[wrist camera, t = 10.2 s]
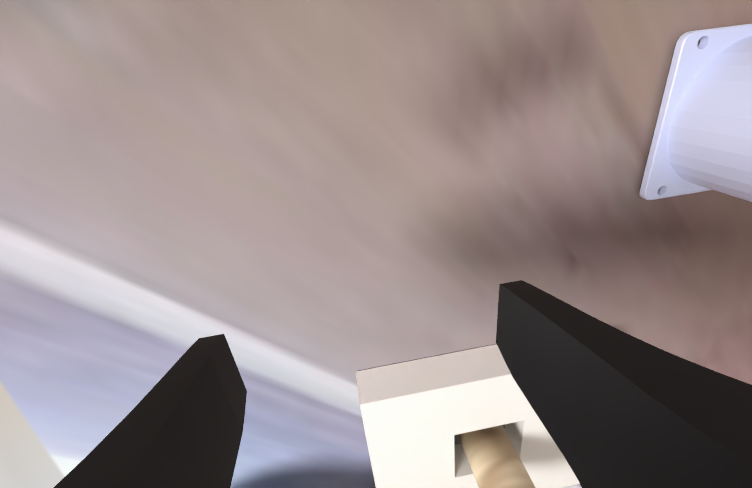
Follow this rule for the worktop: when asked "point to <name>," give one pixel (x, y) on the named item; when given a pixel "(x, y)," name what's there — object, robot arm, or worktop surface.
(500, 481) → the peg
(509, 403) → the socket plate
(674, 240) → the worktop surface
